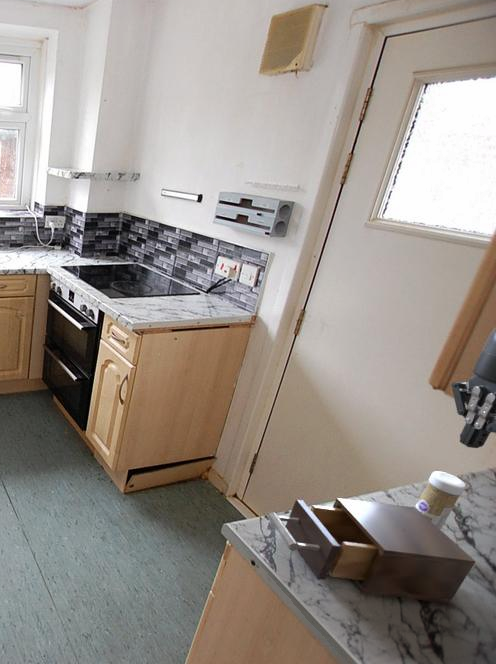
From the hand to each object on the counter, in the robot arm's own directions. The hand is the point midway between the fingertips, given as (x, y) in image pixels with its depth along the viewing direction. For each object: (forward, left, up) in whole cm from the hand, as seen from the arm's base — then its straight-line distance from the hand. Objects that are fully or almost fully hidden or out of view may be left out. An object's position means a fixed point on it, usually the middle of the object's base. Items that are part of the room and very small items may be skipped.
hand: (469, 445), depth 80 cm
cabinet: (+14, +9, -21) cm, 27 cm away
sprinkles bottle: (0, 0, -21) cm, 21 cm away
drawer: (+24, +9, -20) cm, 33 cm away
